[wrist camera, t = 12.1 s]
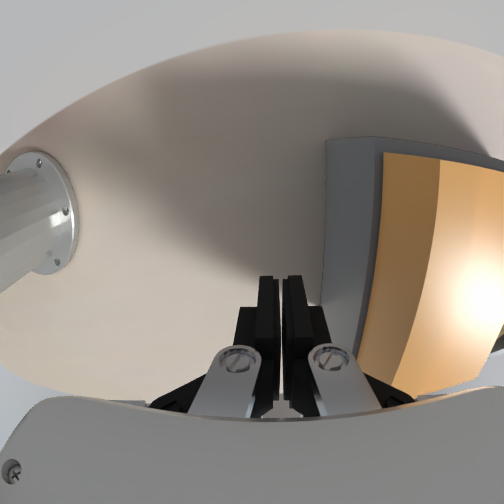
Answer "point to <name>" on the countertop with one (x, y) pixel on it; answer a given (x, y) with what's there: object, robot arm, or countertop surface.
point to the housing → (365, 226)
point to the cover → (435, 274)
